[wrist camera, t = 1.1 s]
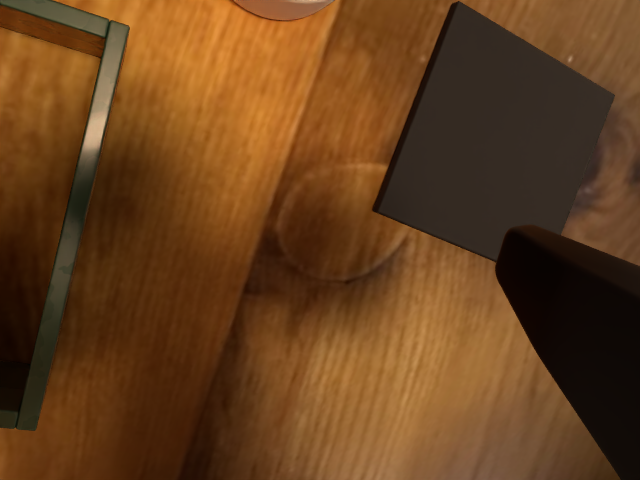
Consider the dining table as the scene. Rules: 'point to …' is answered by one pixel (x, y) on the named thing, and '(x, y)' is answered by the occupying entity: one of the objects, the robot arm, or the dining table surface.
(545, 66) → the felt mat
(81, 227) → the pen box
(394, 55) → the dining table surface
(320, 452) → the dining table surface
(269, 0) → the knuckle duster
